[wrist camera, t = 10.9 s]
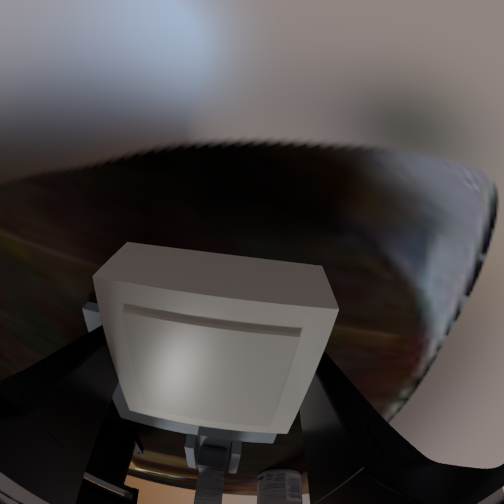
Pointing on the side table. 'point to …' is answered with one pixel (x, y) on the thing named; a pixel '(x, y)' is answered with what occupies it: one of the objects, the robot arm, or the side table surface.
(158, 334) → the cover
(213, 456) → the grey stepped block
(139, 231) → the side table surface
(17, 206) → the side table surface
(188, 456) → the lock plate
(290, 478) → the energy drink
